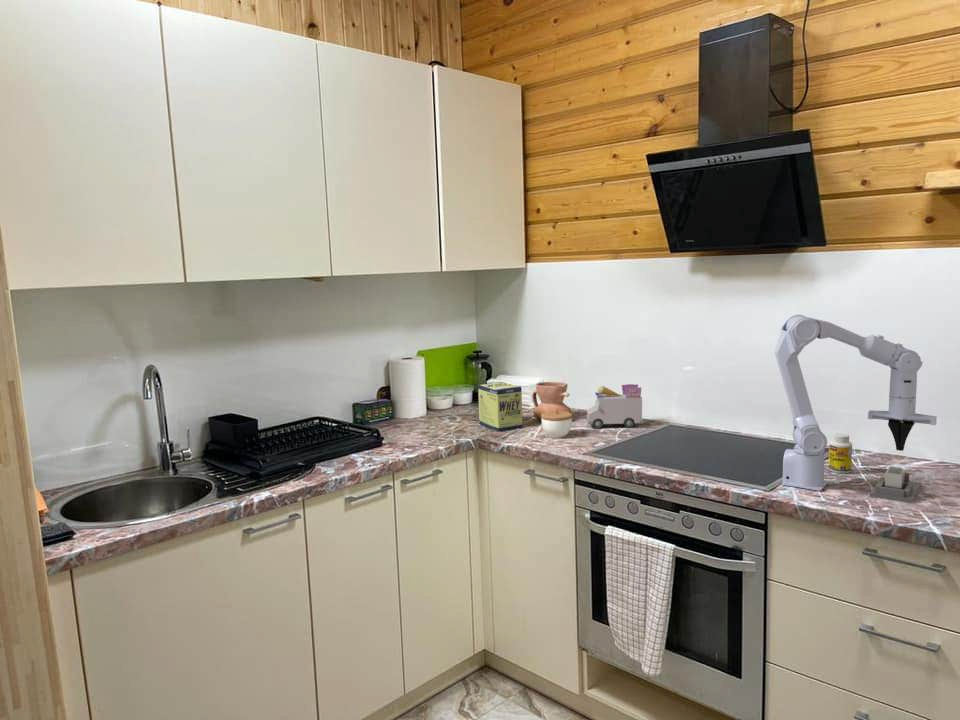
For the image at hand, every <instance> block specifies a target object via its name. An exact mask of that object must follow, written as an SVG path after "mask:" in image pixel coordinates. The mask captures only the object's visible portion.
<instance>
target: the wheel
mask: <svg viewBox="0 0 960 720" xmlns="http://www.w3.org/2000/svg"><path fill="white" fill-rule="evenodd" d="M909 481H910V474H909V473H907V472H905V477H904V482H909Z"/></svg>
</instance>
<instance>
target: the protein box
mask: <svg viewBox="0 0 960 720" xmlns="http://www.w3.org/2000/svg"><path fill="white" fill-rule="evenodd" d="M477 386H478V387H477V389H478V418H479V419H478V420H479V423H478V424H479V425H480V426H484V427H485V428H488V429H490V430H492V429H493V431H495V430H496V431H495V432H497V431H498V433H499V431H501V432H506V431H505V430H507V431H512V430H511V429H514V430H518V429H517V428H521V429H523V399H522V397H523V396H522V395H523V394H522V386H519V385H514V384H512V383H508V382H503V381H497V382H489V383H482V384H481V383H480V384H477Z"/></svg>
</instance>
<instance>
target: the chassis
mask: <svg viewBox="0 0 960 720" xmlns="http://www.w3.org/2000/svg"><path fill="white" fill-rule="evenodd" d="M922 483H923V482H919V481H911V480H909V482H904V490H901V489H895V488H888V487H885V477H884V476H881V477H880V478H879V479H878V480H877V482H876V483H875V485H874V486H873V487H872V489H871V491H870V492H869V497H871V498H877V499H882V500H883V499H884V500H890V501H895V502H902V503H903V502H904V503H909V504H913V503H914V502H915V500H916V498H917V496H918V494H919V492H920V490H921V488H922Z"/></svg>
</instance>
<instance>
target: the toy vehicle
mask: <svg viewBox="0 0 960 720" xmlns="http://www.w3.org/2000/svg"><path fill="white" fill-rule="evenodd" d="M621 391H622V394H620V393H617V392H615V391H614V390H612V389H609V388H608V387H606V386H604V385H602V386H599V387H598V388H597V391H595V396H596V400H595V405H594V406H592V407H591V408H590V407H589V408H588V409H587V410H586V417H585V420H586V422H587V424H588V425H592V427H593V428H595V429H597V430H599V429H601V428H603V425H615V424H617V425H618V424H620V425H621V424H623V425H624V426H625V428H627V429H632V428H633V427H636V425H637V424H644V420H643V397H642V396H641V394H642V387H641V386H640V387H639V384H638V383H637V384H633V383H631V384H629V383H627V384H621Z"/></svg>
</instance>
